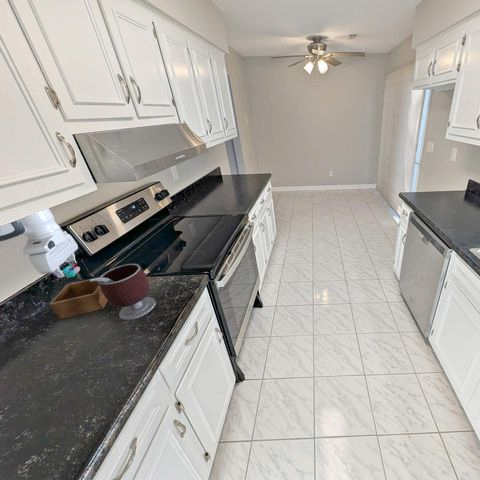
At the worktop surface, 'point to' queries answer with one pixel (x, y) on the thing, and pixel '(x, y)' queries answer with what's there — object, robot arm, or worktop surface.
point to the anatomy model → (70, 271)
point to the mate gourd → (127, 290)
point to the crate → (78, 299)
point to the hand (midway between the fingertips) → (68, 270)
